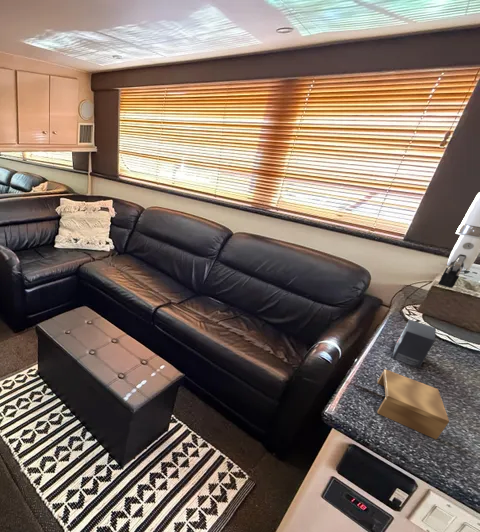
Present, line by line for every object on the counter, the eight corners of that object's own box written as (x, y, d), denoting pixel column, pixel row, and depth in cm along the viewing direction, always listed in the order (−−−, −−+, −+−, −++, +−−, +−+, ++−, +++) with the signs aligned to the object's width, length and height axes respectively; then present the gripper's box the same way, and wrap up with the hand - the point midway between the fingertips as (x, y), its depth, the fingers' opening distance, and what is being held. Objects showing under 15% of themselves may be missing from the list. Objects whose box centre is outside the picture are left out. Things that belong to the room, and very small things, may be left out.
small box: (393, 346, 115) (408, 318, 111) (419, 356, 111) (436, 327, 106) (389, 360, 107) (406, 330, 102) (417, 371, 102) (436, 340, 98)
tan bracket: (427, 406, 87) (438, 389, 85) (436, 439, 76) (449, 421, 74) (375, 385, 94) (384, 368, 91) (377, 413, 83) (387, 395, 81)
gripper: (495, 238, 88) (461, 293, 95) (494, 232, 99) (464, 282, 105) (456, 231, 94) (427, 283, 100) (459, 226, 104) (432, 274, 110)
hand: (446, 283), depth 103 cm, fingers open, 9 cm apart
